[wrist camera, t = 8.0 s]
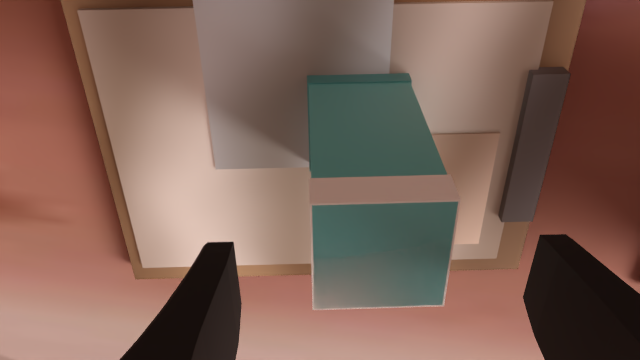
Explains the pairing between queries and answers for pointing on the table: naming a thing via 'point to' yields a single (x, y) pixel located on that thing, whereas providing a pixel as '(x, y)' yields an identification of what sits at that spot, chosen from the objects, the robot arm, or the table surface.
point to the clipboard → (292, 114)
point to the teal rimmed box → (376, 196)
